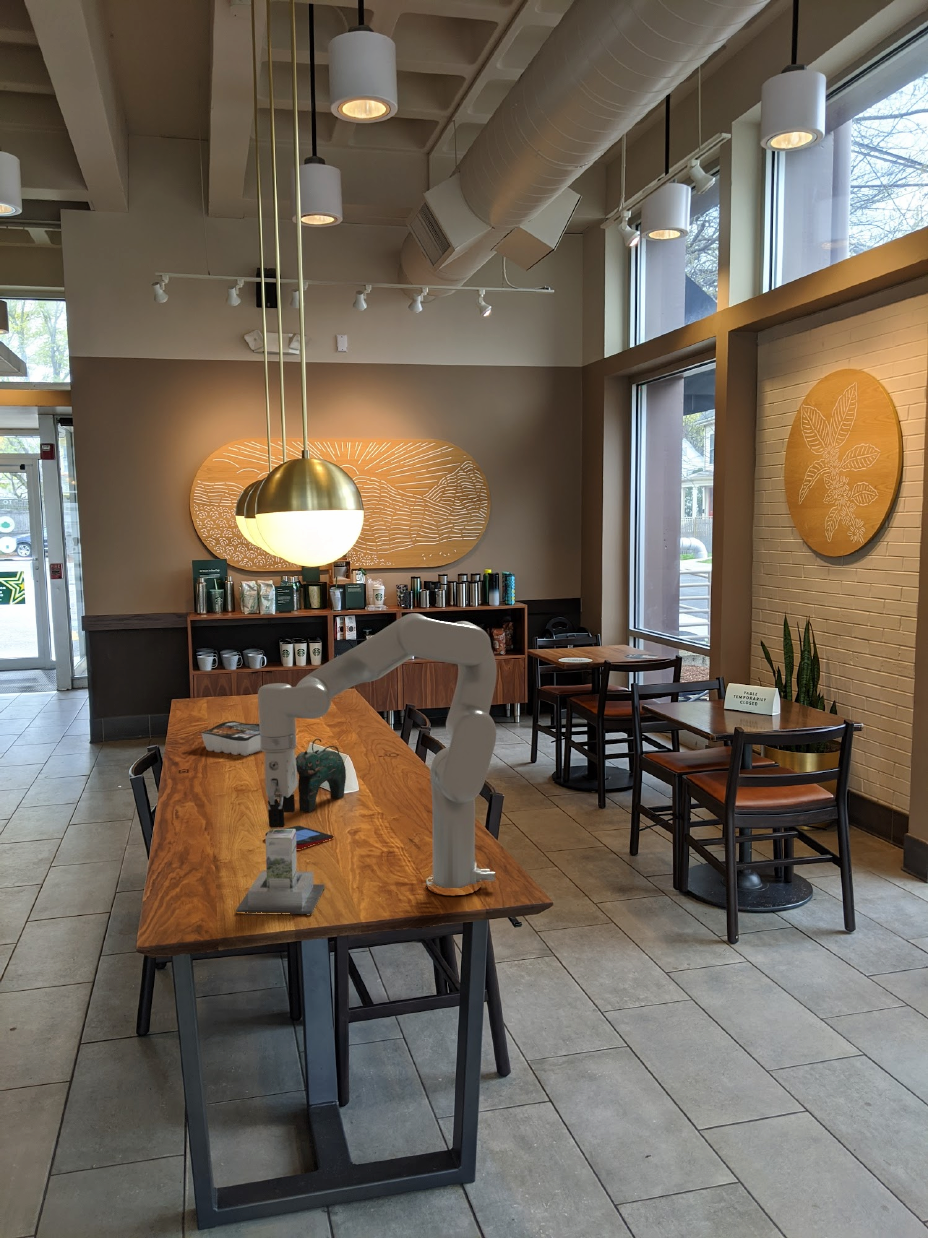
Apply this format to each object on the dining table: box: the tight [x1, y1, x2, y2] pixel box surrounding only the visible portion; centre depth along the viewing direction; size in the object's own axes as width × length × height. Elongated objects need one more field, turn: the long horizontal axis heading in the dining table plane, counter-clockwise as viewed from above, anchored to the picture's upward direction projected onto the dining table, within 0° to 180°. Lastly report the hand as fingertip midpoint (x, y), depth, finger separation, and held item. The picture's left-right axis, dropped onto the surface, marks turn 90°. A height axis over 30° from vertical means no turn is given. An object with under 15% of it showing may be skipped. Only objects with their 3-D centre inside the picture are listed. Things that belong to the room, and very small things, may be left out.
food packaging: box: [198, 720, 261, 757], centre depth 338 cm, size 25×8×23 cm
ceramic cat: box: [295, 738, 347, 814], centre depth 270 cm, size 20×6×20 cm, turn 151°
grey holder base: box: [235, 870, 325, 915], centre depth 201 cm, size 16×14×4 cm
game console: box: [264, 825, 335, 849], centre depth 241 cm, size 14×13×2 cm
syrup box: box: [265, 828, 298, 888], centre depth 200 cm, size 6×6×14 cm
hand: (282, 819), depth 200 cm, fingers open, 9 cm apart
